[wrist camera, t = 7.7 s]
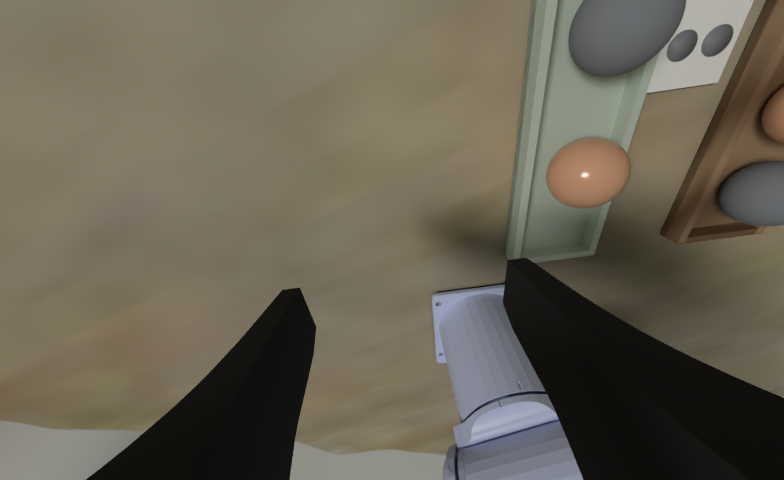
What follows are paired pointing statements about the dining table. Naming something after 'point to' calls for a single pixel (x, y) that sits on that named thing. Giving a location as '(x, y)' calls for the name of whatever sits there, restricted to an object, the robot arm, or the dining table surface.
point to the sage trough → (595, 114)
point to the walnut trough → (733, 137)
